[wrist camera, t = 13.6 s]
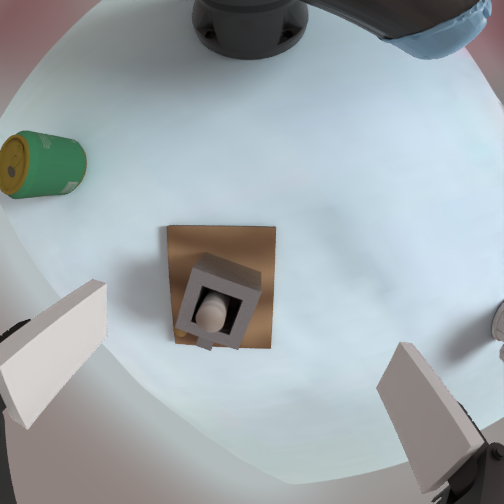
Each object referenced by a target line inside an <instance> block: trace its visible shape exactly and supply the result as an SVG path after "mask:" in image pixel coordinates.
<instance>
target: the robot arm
mask: <svg viewBox="0 0 504 504" xmlns="http://www.w3.org/2000/svg"><path fill="white" fill-rule="evenodd" d="M306 3H307V4H310V5H312V6H315V7H318V8H320V9H323V10H325V11H328V12H330V13H332V14H335V15H337V16H339V17H341V18H343V19H346V20H348V21H350V22H352V23H354V24H356V25H358V26H359V27H361V28H363V29H365V30H367V31H369V32H371V33H372V34H374V35H376V36H377V37H378V38H379V39H380V40H382V41H384V42H387V43H391V44H393V45H394V46H396V47H398V48H400V49H401V50H403V51H405V52H406V53H408V54H410V55H412V56H413V57H416V58H419V59H424V60H431V59H439V58H443V57H445V56H448V55H450V54H453V53H455V52H456V51H458V50H460V49H461V48H463V47H464V46H466V45H467V44H468V43H470V41H472V40H473V39H474V38H475V37H476V36H477V35H478V34H479V33H480V32H481V31H482V30H483V28H484V27H485V25H486V24H487V20H486V18H488V17H489V16H490V15H491V11H492V5H491V1H490V0H195V2H194V7H193V12H192V21H193V26H194V28H195V31H196V33H197V35H198V37H199V39H200V40H201V41H202V43H203V44H204V45H205V46H207V47H208V48H209V49H211V50H212V51H214V52H216V53H218V54H221V55H223V56H227V57H231V58H236V59H249V60H250V59H262V58H268V57H272V56H275V55H278V54H280V53H283V52H285V51H287V50H288V49H290V48H291V47H293V46H294V45H295V44H296V43H297V42H298V41H299V40H300V39H301V38H302V36H303V34H304V32H305V29H306V26H307V22H308V8H307V4H306ZM107 337H108V332H107V283H104V282H101V281H97V280H94V279H92V280H90V281H89V282H87V283H86V284H84V285H82V286H81V287H79V288H78V289H76V290H75V291H73V292H72V293H70V294H69V295H67V296H66V297H64V298H63V299H61V300H60V301H58V302H57V303H56V304H54V305H52V306H51V307H50V308H48V309H47V310H45V311H44V312H42V313H41V314H39V315H38V316H37V317H35V318H34V319H32V320H31V319H28V320H25V321H22V322H19V323H17V324H16V325H14V326H13V327H11V328H10V329H9V331H8V330H7V331H6V332H4V333H3V335H2V336H0V504H17V503H16V499H15V495H14V491H13V486H12V481H11V475H10V469H9V463H8V456H7V448H6V437H5V421H4V416H3V413H2V412H3V410H4V409H5V408H7V410H8V412H9V414H10V416H11V417H12V419H13V420H15V421H16V422H17V423H19V424H20V425H21V426H23V427H24V428H25V429H27V430H28V429H29V427H30V426H31V425H32V423H33V422H34V421H35V420H36V418H37V417H38V416H39V415H40V414H41V412H42V411H43V410H44V409H45V407H46V406H47V405H48V404H49V403H50V401H51V400H52V399H53V398H54V397H55V395H56V394H57V393H58V392H59V391H60V390H61V388H62V387H63V386H64V385H65V384H66V383H67V381H68V380H69V379H70V378H71V377H72V376H73V374H74V373H75V372H76V371H77V370H78V369H79V368H80V366H81V365H82V364H83V363H84V362H85V361H86V360H87V359H88V358H89V356H90V355H91V354H92V353H93V352H94V351H95V350H96V349H97V348H98V346H99V345H100V344H101V343H102V342H103V341H104V340H105V339H106V338H107ZM376 389H377V391H378V393H379V395H380V397H381V399H382V401H383V403H384V406H385V408H386V410H387V412H388V414H389V416H390V419H391V421H392V423H393V425H394V428H395V430H396V432H397V434H398V437H399V439H400V441H401V443H402V446H403V448H404V450H405V453H406V455H407V457H408V460H409V462H410V465H411V467H412V470H413V472H414V474H415V477H416V479H417V482H418V484H419V487H420V489H421V492H422V494H424V493H427V492H430V491H434V490H437V489H438V488H439V487H440V486H441V485H443V484H444V483H445V482H446V481H447V480H448V482H449V486H448V487H447V488H445V489H444V490H443V491H442V492H440V493H439V494H438V495H437V496H436V497H434V498H433V500H432V502H435V501H436V500H437V499H439V498H440V497H442V498H441V500H439V501H438V502H437V504H504V446H503V445H501V444H500V443H495V442H494V443H491V444H490V445H489V444H488V443H487V441H486V439H485V438H484V436H483V435H482V433H481V432H480V430H479V429H478V427H477V426H476V424H475V423H474V421H472V419H471V417H470V416H469V415H467V414H468V413H467V411H466V410H465V409H464V407H463V406H462V405H461V404H460V403H459V402H458V401H456V400H455V398H454V397H453V395H452V394H451V393H450V391H449V390H448V389H447V387H446V386H445V385H444V383H443V382H442V381H441V379H440V378H439V377H438V375H437V374H436V373H435V372H434V370H433V369H432V368H431V366H430V365H429V364H428V362H427V361H426V360H425V359H424V357H423V356H422V355H421V354H420V352H419V351H418V350H417V349H416V347H415V346H414V345H413V344H412V343H405V342H399V344H398V346H397V348H396V351H395V353H394V355H393V357H392V359H391V361H390V363H389V365H388V367H387V369H386V370H385V372H384V374H383V376H382V378H381V380H380V382H379V384H378V385H377V387H376Z"/></svg>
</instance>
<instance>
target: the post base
mask: <svg viewBox="0 0 504 504" xmlns="http://www.w3.org/2000/svg"><path fill="white" fill-rule="evenodd" d="M167 241H168V263H169V279H170V293H171V305H172V316H173V326H174V335H175V344H186V345H196V343H197V340H198V337H199V336H196V335H193V334H190V333H188V332H185V331H182V330H180V329H177V328H175V326H176V322H177V319H178V315H179V311H180V308H181V305H182V301H183V298H184V294H185V291H186V288H187V284H188V281H189V278H190V274H191V271H192V268H193V266H194V265H195V264H196V263H197V262H198V261H199V260H200V258H201V257H202V256H203V255H204V254H205V253H206V252H207V253H210V254H213V255H216V256H218V257H221V258H224V259H227V260H229V261H232V262H235V263H238V264H240V265H243V266H246V267H249V268H252V269H254V270H257V271H260V272H261V282H262V293H261V295H260V298H259V300H258V303H257V305H256V308H255V310H254V313H253V315H252V317H251V320H250V322H249V325H248V327H247V330H246V332H245V334H244V337H243V339H242V342H241V344H240V346H239V348H263V349H271V336H272V317H273V296H274V272H275V244H276V227H268V226H206V225H169V226H167ZM203 297H205V298H204V300H203V302H202V304H201V306H200V308H199V310H198V312H197V314H196V323H197V325H198V326H199V327H200V328H201V329H202V330H204V331H206V332H210V333H212V332H217V331H219V330H220V329H221V328H222V327H223V325H224V321H225V318H226V314H227V310H228V306H230V307H232V308H235V307H236V304H237V302H238V298H235V297H232V296H230V295H227V294H224V293H221V292H218V291H216V290H213V289H210V288H207V287H206V290H205V293H204V296H203ZM213 347H227V346H224V345H221V344H218V343H215V342H214V343H213Z"/></svg>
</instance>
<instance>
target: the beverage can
mask: <svg viewBox="0 0 504 504" xmlns="http://www.w3.org/2000/svg"><path fill="white" fill-rule="evenodd" d="M86 164H87V162H86V155H85V152H84V150H83V149H82V147H81V146H80V144H79V143H78V142H77V141H75V140H72V139H68V138H63V137H58V136H53V135H48V134H42V133H37V132H32V131H21V132H19V133H17V134H16V135H12V136H11V137H9V138H8V139H7V140H6V141H5V143H4V144H3V146H2V148H1V150H0V190H1V191H2V192H3V193H5V194H7V195H8V196H9V197H11V198H13V199H21V198H31V197H41V196H52V195H64V194H68V193H70V192H71V191H73V190H74V189H75V188H76V187H77V186H78V185H79V184H80V183H81V181H82V179H83V177H84V175H85V171H86Z"/></svg>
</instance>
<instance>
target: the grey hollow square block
mask: <svg viewBox="0 0 504 504" xmlns="http://www.w3.org/2000/svg"><path fill="white" fill-rule="evenodd" d="M206 287H207V288H210V289H213V290H216V291H218V292H221V293H224V294H227V295H230V296H232V297H235V298H238V302H237V304H236V307H235V308H232V307H230V306H228V310H227V314H226V318H225V321H224V325H223V327H222V328H221V329H220V330H219V331H217V332H212V333H210V332H206V331H204V330H202V329H201V328H200V327H199V326H198V325H197V323H196V314H197V312H198V310H199V308H200V306H201V304H202V302H203V300H204V298H205V297H203V296H204V293H205V290H206ZM261 293H262V282H261V272H260V271H257V270H254V269H252V268H249V267H246V266H243V265H240V264H238V263H235V262H232V261H229V260H227V259H224V258H221V257H218V256H216V255H213V254H210V253H207V252H206V253H205V254H204V255H203V256H202V257H201V258H200V260H199V261H198V262H197V263H196V264H195V265H194V266H193V268H192V271H191V274H190V278H189V281H188V284H187V288H186V291H185V294H184V298H183V301H182V305H181V308H180V311H179V315H178V319H177V322H176V326H175V328H177V329H180V330H182V331H185V332H188V333H190V334H193V335H196V336H199V337H198V340H197V343H196V346H198V347H201V348H204V349H207V350H210V351H211V349H212V346H213V343H214V342H215V343H218V344H221V345H224V346H227V347H230V348H233V349H236V350H238V349H239V346H240V344H241V342H242V339H243V337H244V334H245V332H246V330H247V327H248V325H249V322H250V320H251V317H252V315H253V313H254V310H255V308H256V305H257V303H258V300H259V298H260V295H261Z"/></svg>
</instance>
